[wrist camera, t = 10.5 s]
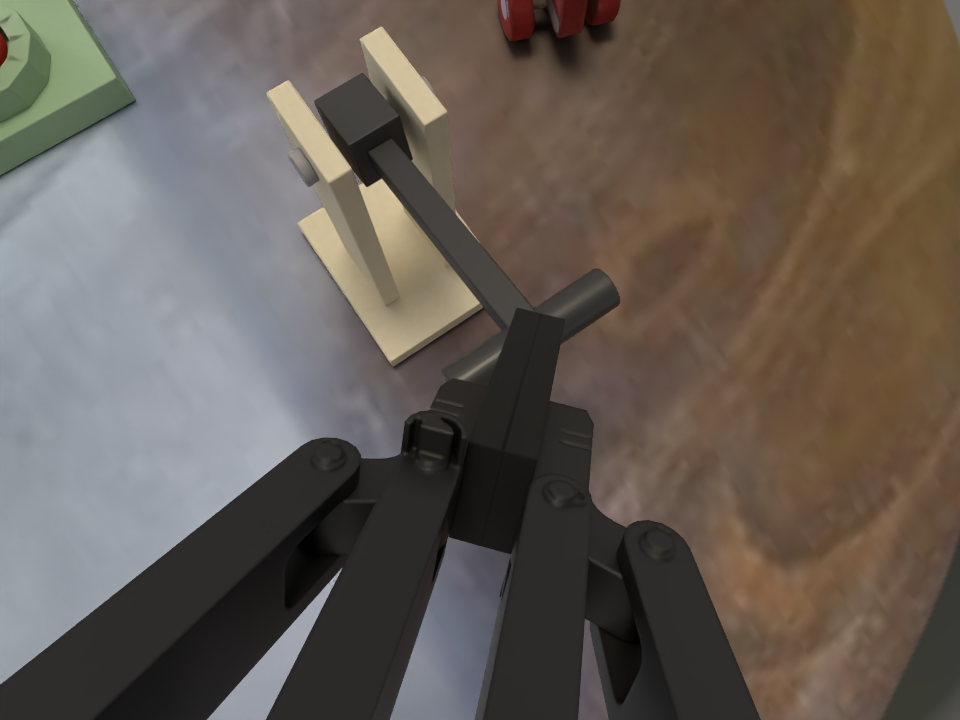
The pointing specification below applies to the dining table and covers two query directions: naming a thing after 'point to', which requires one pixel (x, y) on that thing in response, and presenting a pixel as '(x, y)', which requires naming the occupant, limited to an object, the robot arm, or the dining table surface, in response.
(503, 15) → the red toy car
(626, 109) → the dining table surface
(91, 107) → the button block
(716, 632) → the robot arm
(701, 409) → the dining table surface
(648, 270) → the dining table surface
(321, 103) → the lever
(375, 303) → the bracket
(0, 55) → the button
